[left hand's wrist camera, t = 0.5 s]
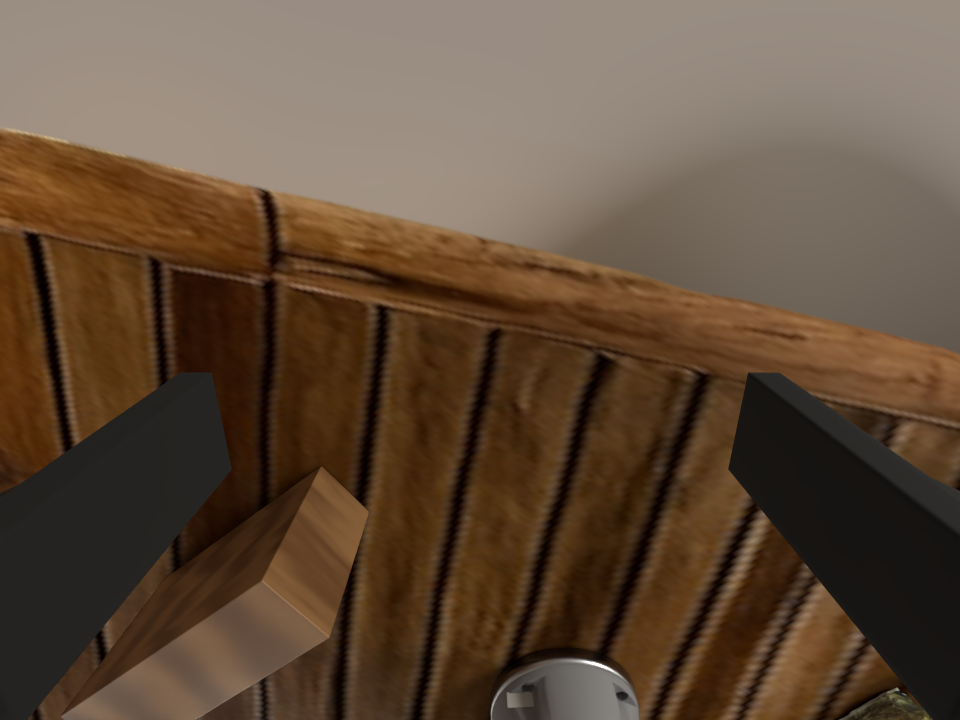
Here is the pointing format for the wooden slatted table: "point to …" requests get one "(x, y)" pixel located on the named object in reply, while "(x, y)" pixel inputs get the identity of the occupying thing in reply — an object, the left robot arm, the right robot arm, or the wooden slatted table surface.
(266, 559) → the box
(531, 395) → the wooden slatted table surface
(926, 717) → the fossil
